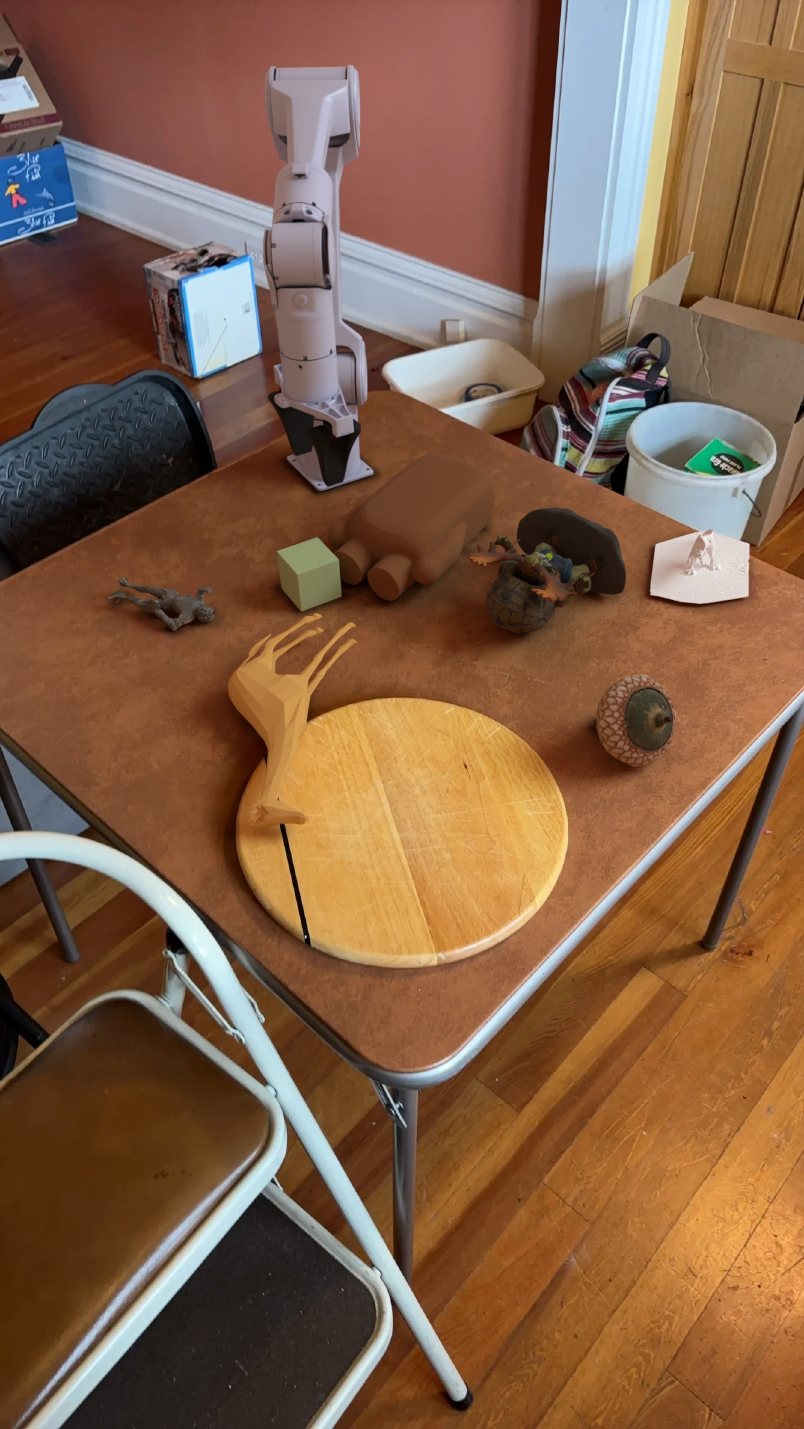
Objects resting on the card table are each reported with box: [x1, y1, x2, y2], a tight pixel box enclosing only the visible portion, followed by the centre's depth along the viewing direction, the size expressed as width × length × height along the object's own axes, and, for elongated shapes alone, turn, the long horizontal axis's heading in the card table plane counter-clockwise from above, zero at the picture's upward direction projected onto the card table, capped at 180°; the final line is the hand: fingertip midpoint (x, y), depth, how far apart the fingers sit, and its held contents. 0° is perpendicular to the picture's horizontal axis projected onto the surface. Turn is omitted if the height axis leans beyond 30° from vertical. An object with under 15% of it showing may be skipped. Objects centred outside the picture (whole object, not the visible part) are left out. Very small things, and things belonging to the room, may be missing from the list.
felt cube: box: [276, 537, 342, 612], centre depth 108 cm, size 5×5×5 cm
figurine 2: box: [467, 506, 627, 634], centre depth 104 cm, size 14×10×18 cm
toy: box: [327, 452, 496, 602], centre depth 112 cm, size 15×8×20 cm
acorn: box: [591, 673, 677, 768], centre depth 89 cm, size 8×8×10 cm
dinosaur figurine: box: [649, 529, 750, 605], centre depth 109 cm, size 15×12×6 cm
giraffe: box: [227, 612, 359, 829], centre depth 93 cm, size 16×4×25 cm
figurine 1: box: [107, 575, 216, 632], centre depth 106 cm, size 6×4×12 cm
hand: (318, 467), depth 110 cm, fingers open, 7 cm apart
